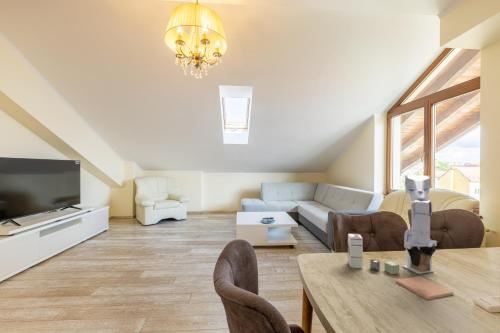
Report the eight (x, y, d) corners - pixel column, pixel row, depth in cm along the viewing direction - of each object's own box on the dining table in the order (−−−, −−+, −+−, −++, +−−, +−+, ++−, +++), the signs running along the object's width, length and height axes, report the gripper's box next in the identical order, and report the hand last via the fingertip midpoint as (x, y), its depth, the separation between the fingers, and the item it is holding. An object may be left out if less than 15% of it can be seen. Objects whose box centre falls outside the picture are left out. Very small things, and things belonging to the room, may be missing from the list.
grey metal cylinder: (374, 267, 111) (375, 258, 111) (381, 271, 107) (382, 262, 107) (368, 268, 110) (368, 259, 110) (374, 272, 106) (374, 263, 106)
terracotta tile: (419, 278, 101) (419, 276, 101) (453, 294, 88) (453, 292, 88) (395, 282, 97) (395, 279, 97) (427, 299, 84) (427, 297, 84)
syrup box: (363, 268, 109) (363, 237, 109) (349, 267, 111) (350, 236, 111) (359, 263, 115) (360, 234, 115) (347, 262, 116) (347, 233, 116)
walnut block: (418, 266, 96) (418, 251, 96) (429, 270, 92) (430, 255, 92) (410, 267, 95) (410, 252, 95) (421, 272, 91) (421, 256, 91)
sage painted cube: (391, 269, 109) (391, 261, 109) (399, 273, 105) (399, 264, 105) (384, 270, 108) (384, 262, 108) (391, 274, 104) (392, 265, 104)
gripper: (416, 235, 87) (415, 271, 87) (445, 232, 91) (444, 267, 91) (399, 229, 94) (399, 263, 94) (426, 227, 98) (426, 260, 98)
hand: (420, 264), depth 93 cm, fingers closed on walnut block, 4 cm apart
